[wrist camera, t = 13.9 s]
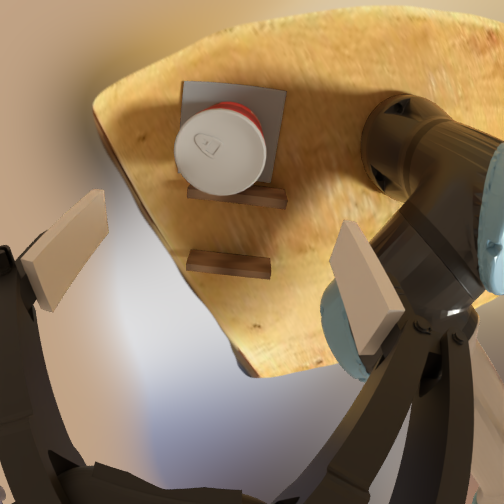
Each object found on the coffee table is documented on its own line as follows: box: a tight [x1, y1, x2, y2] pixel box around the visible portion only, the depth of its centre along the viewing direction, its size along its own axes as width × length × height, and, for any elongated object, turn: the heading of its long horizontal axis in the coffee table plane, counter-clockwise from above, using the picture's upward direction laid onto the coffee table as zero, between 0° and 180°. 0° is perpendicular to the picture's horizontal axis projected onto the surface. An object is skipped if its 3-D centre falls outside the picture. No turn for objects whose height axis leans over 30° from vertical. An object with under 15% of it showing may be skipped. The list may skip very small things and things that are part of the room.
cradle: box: [186, 184, 288, 279], centre depth 37 cm, size 12×12×4 cm
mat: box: [178, 81, 287, 183], centre depth 31 cm, size 12×12×1 cm
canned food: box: [174, 102, 266, 196], centre depth 26 cm, size 8×8×11 cm
